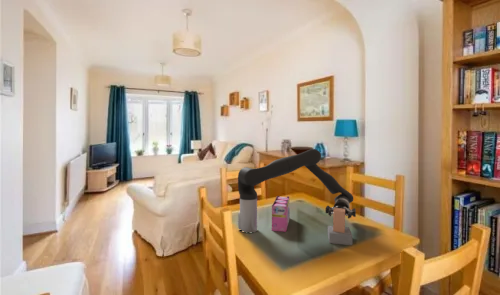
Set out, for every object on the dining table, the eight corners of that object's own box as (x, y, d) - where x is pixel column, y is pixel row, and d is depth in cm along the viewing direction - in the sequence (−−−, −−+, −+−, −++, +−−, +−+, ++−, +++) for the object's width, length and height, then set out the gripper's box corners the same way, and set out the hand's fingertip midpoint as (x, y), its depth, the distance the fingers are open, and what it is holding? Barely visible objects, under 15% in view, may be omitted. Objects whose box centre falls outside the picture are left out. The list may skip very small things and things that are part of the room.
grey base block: (329, 243, 115) (329, 233, 114) (327, 235, 124) (327, 225, 124) (352, 245, 112) (352, 235, 112) (348, 237, 122) (348, 227, 122)
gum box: (277, 216, 153) (277, 195, 153) (289, 217, 151) (290, 195, 151) (271, 230, 130) (271, 205, 130) (286, 232, 128) (286, 206, 128)
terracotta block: (333, 231, 117) (333, 210, 116) (334, 227, 122) (334, 207, 121) (344, 232, 115) (344, 211, 114) (345, 229, 119) (345, 208, 119)
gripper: (327, 198, 134) (323, 205, 119) (356, 200, 128) (356, 209, 113) (327, 211, 134) (323, 220, 119) (356, 215, 128) (355, 225, 113)
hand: (339, 215), depth 116 cm, fingers open, 8 cm apart
